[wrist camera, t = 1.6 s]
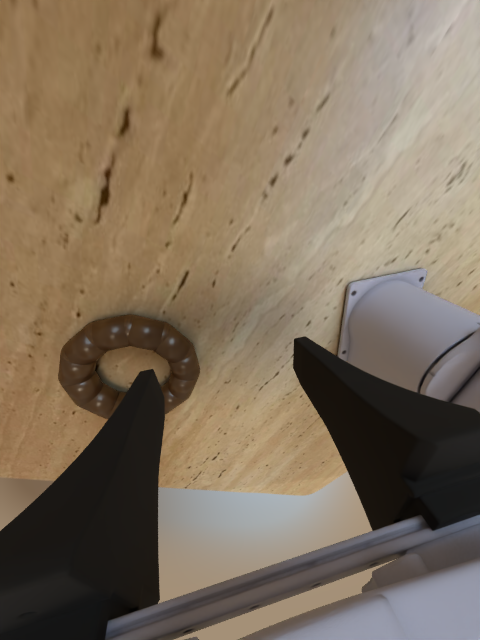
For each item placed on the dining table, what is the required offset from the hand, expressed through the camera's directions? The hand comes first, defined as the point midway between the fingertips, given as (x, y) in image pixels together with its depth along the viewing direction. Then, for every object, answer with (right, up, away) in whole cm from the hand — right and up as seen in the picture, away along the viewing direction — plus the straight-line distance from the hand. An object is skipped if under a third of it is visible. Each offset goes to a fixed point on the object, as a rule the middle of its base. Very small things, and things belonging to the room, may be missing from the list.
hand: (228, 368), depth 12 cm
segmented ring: (-8, -2, +8) cm, 12 cm away
